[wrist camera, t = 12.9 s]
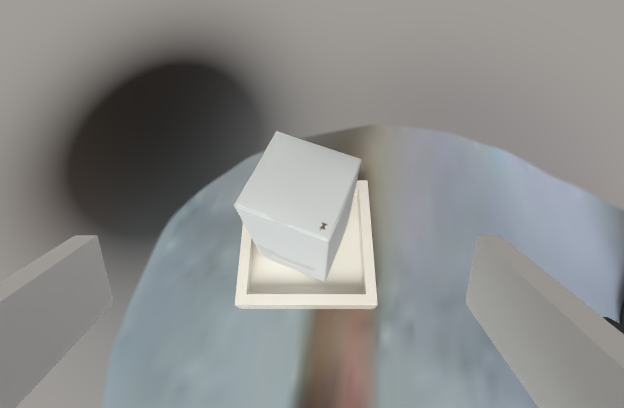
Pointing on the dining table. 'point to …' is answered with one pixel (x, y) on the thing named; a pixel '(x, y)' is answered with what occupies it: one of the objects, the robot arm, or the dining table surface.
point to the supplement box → (299, 203)
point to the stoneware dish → (307, 290)
